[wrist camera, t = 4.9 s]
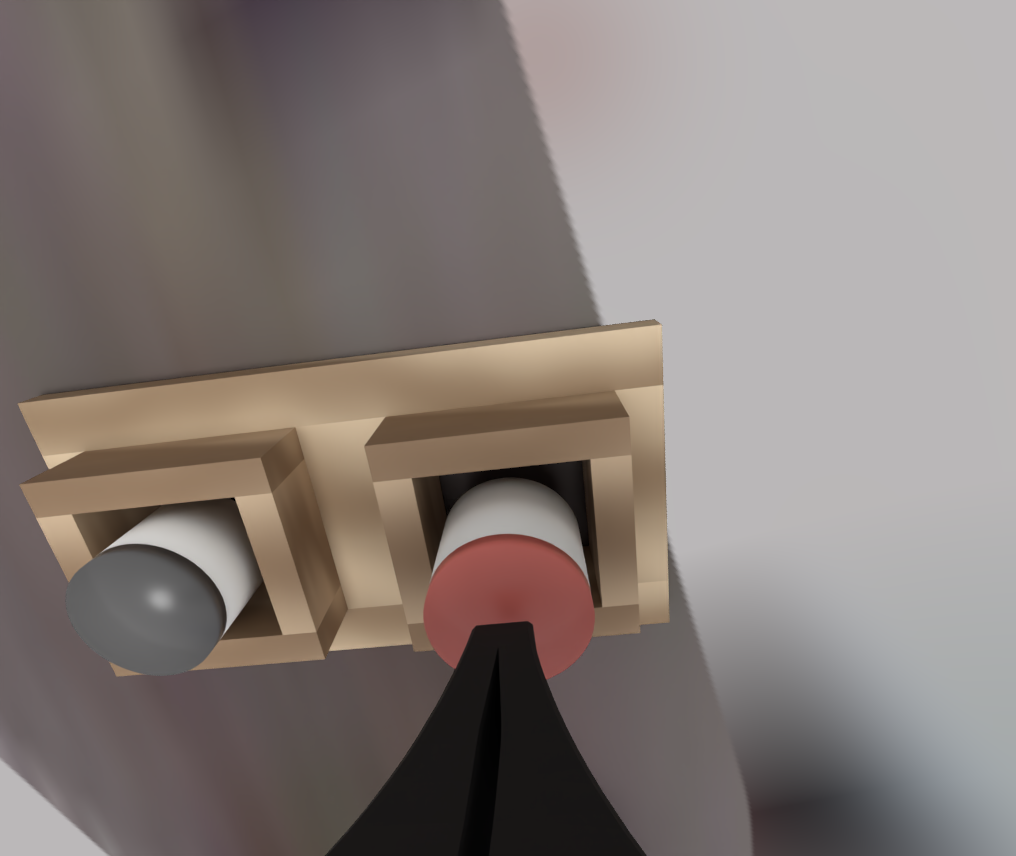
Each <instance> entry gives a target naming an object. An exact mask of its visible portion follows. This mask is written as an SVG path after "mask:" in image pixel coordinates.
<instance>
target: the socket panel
mask: <svg viewBox="0 0 1016 856" xmlns="http://www.w3.org/2000/svg"><path fill="white" fill-rule="evenodd" d="M18 406H19V408H20V410H21V412H22V414H23V416H24V418H25V420H26V422H27V424H28V427H29V429H30V431H31V433H32V435H33V437H34V439H35V441H36V443H37V445H38V447H39V449H40V452H41V454H42V456H43V458H44V460H45V462H46V464H47V466H48V468H49V470H47V471H45V472H43V473H41V474H39V475H37V476H35V477H33V478H31V479H29V480H27V481H25V482H23V483H21V484H20V487H21V489H22V491H23V493H24V495H25V497H26V499H27V501H28V503H29V505H30V507H31V509H32V511H33V513H34V515H35V516H36V518H37V520H38V522H39V524H40V526H41V528H42V530H43V532H44V534H45V536H46V538H47V540H48V542H49V544H50V546H51V548H52V550H53V552H54V554H55V556H56V558H57V560H58V562H59V564H60V566H61V568H62V570H63V572H64V574H65V576H66V578H67V580H68V582H70V580H71V578H72V577H73V576H74V574H75V573H76V572H77V571H78V570H79V569H80V568H81V567H83V566H84V565H85V564H87V563H88V562H89V561H90V560H92V559H93V558H94V557H96V556H97V555H98V554H100V553H101V552H102V551H103V550H105V549H106V548H107V547H109V546H110V545H111V544H113V543H114V542H115V541H116V540H118V539H119V538H120V537H122V536H123V535H124V534H126V533H127V532H128V531H129V530H131V529H132V528H133V527H135V526H136V525H137V524H139V523H140V522H141V521H142V520H144V519H145V518H146V517H148V516H149V515H150V514H152V513H153V512H154V511H155V510H157V509H158V508H159V507H161V506H162V505H165V504H174V503H184V502H193V501H203V500H212V499H221V498H231V497H235V500H236V503H237V506H238V508H239V511H240V514H241V517H242V520H243V523H244V526H245V528H246V531H247V534H248V537H249V540H250V543H251V546H252V548H253V551H254V554H255V557H256V560H257V563H258V566H259V568H260V571H261V574H262V577H263V580H264V581H263V582H262V583H261V585H260V586H259V587H258V589H257V590H256V592H255V593H254V594H253V596H252V597H251V598H250V600H249V601H248V602H247V604H246V605H245V607H244V608H243V609H242V611H241V612H240V613H239V615H238V616H237V617H236V619H235V620H234V621H233V623H232V624H231V626H230V627H229V628H228V630H227V631H226V632H225V634H224V635H223V636H222V638H221V639H220V641H219V642H218V643H217V645H216V646H215V647H214V649H213V650H212V651H211V653H210V654H209V655H208V657H207V658H206V659H205V660H204V661H203V662H202V663H200V664H199V665H198V666H196V667H194V668H193V669H191V670H201V669H213V668H225V667H237V666H249V665H261V664H273V663H285V662H297V661H309V660H321V659H325V658H326V656H327V654H328V652H329V651H335V650H347V649H358V648H370V647H382V646H394V645H406V644H412V645H413V649H414V652H417V651H429V650H435V649H434V648H433V646H432V645H431V643H430V641H429V639H428V637H427V634H426V631H425V627H424V620H423V609H424V604H425V599H426V595H427V591H428V587H429V583H430V580H431V576H432V572H433V568H434V564H435V560H436V557H437V553H438V549H439V545H440V541H441V537H442V534H443V530H444V526H445V522H446V519H447V516H446V510H445V505H444V500H443V495H442V490H441V485H440V479H439V475H447V474H457V473H466V472H475V471H485V470H494V469H504V468H513V467H522V466H532V465H541V464H551V463H560V462H569V461H579V460H582V467H583V478H584V490H585V501H586V513H587V524H588V536H589V546H583V553H584V558H585V563H586V568H587V574H588V579H589V584H590V589H591V595H592V600H593V605H594V611H595V624H594V631H593V634H592V637H597V636H609V635H621V634H633V633H640V625H643V624H655V623H667V622H669V587H668V549H667V513H666V512H667V510H666V471H665V434H664V394H663V357H662V325H661V324H660V323H659V322H657V321H656V320H655V319H654V320H645V321H638V322H629V323H621V324H613V325H605V326H596V327H588V328H580V329H572V330H564V331H556V332H548V333H540V334H532V335H524V336H515V337H507V338H499V339H491V340H483V341H475V342H467V343H459V344H451V345H443V346H435V347H426V348H418V349H410V350H402V351H394V352H386V353H378V354H370V355H362V356H354V357H345V358H337V359H329V360H321V361H313V362H305V363H297V364H289V365H281V366H273V367H264V368H256V369H248V370H240V371H232V372H224V373H216V374H208V375H200V376H192V377H183V378H175V379H167V380H159V381H151V382H143V383H135V384H127V385H119V386H111V387H103V388H94V389H86V390H78V391H70V392H62V393H54V394H46V395H41V396H38V397H35V398H32V399H29V400H26V401H23V402H20V403H18ZM110 664H111V666H112V668H113V670H114V672H115V674H116V676H128V675H140V674H141V673H137V672H133V671H130V670H127V669H124V668H122V667H119V666H117V665H115V664H113V663H111V662H110Z"/></svg>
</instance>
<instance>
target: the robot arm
mask: <svg viewBox="0 0 1016 856" xmlns="http://www.w3.org/2000/svg"><path fill="white" fill-rule="evenodd" d="M325 856H647V855H646V854H645V853H644V851H643V850H642V849H641V847H640V846H639V844H638V843H637V842H636V840H635V839H634V838H633V836H632V835H631V834H630V832H629V831H628V829H627V828H626V826H625V825H624V823H623V822H622V820H621V819H620V817H619V816H618V814H617V813H616V811H615V810H614V808H613V807H612V805H611V804H610V802H609V801H608V799H607V798H606V796H605V795H604V793H603V792H602V790H601V788H600V787H599V785H598V783H597V782H596V780H595V778H594V777H593V775H592V773H591V772H590V770H589V768H588V766H587V765H586V763H585V761H584V759H583V757H582V756H581V754H580V752H579V750H578V748H577V747H576V745H575V743H574V741H573V739H572V737H571V735H570V733H569V731H568V729H567V727H566V725H565V723H564V721H563V718H562V716H561V714H560V712H559V710H558V708H557V705H556V703H555V701H554V698H553V696H552V693H551V691H550V688H549V686H548V683H547V681H546V678H545V675H544V673H543V670H542V667H541V664H540V660H539V657H538V653H537V649H536V642H535V635H534V628H533V624H531V623H530V622H529V621H521V622H510V623H498V624H487V625H476V626H475V627H474V628H473V629H472V631H471V634H470V637H469V639H468V642H467V644H466V647H465V649H464V651H463V653H462V656H461V658H460V660H459V662H458V664H457V666H456V668H455V671H454V673H453V675H452V677H451V678H450V680H449V682H448V684H447V686H446V688H445V690H444V692H443V694H442V696H441V698H440V699H439V701H438V703H437V705H436V707H435V708H434V710H433V712H432V713H431V715H430V717H429V718H428V720H427V722H426V724H425V725H424V727H423V729H422V730H421V732H420V734H419V735H418V737H417V738H416V740H415V742H414V743H413V745H412V746H411V748H410V749H409V751H408V752H407V754H406V755H405V757H404V758H403V760H402V761H401V762H400V764H399V765H398V767H397V768H396V770H395V771H394V772H393V774H392V775H391V777H390V778H389V779H388V781H387V782H386V783H385V785H384V786H383V787H382V789H381V790H380V791H379V792H378V794H377V795H376V796H375V798H374V799H373V800H372V801H371V803H370V804H369V805H368V807H367V808H366V809H365V810H364V812H363V813H362V814H361V815H360V817H359V818H358V819H357V820H356V821H355V823H354V824H353V825H352V826H351V827H350V828H349V829H348V831H347V832H346V833H345V834H344V835H343V836H342V837H341V838H340V840H339V841H338V842H337V843H336V844H335V845H334V846H333V847H332V848H331V850H330V851H329V852H328V853H327V854H326V855H325Z"/></svg>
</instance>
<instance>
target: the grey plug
mask: <svg viewBox="0 0 1016 856" xmlns="http://www.w3.org/2000/svg"><path fill="white" fill-rule="evenodd" d="M263 581H264V580H263V577H262V574H261V571H260V568H259V566H258V563H257V560H256V557H255V554H254V551H253V548H252V546H251V543H250V540H249V537H248V534H247V531H246V528H245V526H244V523H243V520H242V517H241V514H240V511H239V508H238V506H237V503H236V502H235V501H233V500H231V499H229V498H221V499H212V500H203V501H193V502H184V503H174V504H165V505H162V506H161V507H159V508H158V509H157V510H155V511H154V512H153V513H152V514H150V515H149V516H148V517H146V518H145V519H144V520H142V521H141V522H140V523H139V524H137V525H136V526H135V527H133V528H132V529H131V530H129V531H128V532H127V533H126V534H124V535H123V536H122V537H120V538H119V539H118V540H116V541H115V542H114V543H113V544H111V545H110V546H109V547H107V548H106V549H105V550H103V551H102V552H101V553H100V554H98V555H97V556H96V557H94V558H93V559H92V560H90V561H89V562H88V563H87V564H85V565H84V566H83V567H81V568H80V569H79V570H78V571H77V572H76V573H75V574H74V576H73V577H72V578H71V580H70V582H69V584H68V587H67V591H66V601H65V602H66V609H67V613H68V617H69V619H70V621H71V624H72V626H73V627H74V629H75V631H76V632H77V634H78V635H79V636H80V637H81V639H82V640H83V641H84V642H85V643H86V644H87V645H88V646H89V647H90V648H91V649H92V650H93V651H95V652H96V653H97V654H99V655H100V656H101V657H103V658H104V659H106V660H108V661H109V662H111V663H113V664H115V665H117V666H119V667H122V668H124V669H127V670H130V671H133V672H137V673H141V674H147V675H157V676H164V675H174V674H179V673H183V672H186V671H188V670H191V669H193V668H194V667H196V666H198V665H199V664H200V663H202V662H203V661H204V660H205V659H206V658H207V657H208V655H209V654H210V653H211V651H212V650H213V649H214V647H215V646H216V645H217V643H218V642H219V641H220V639H221V638H222V636H223V635H224V634H225V632H226V631H227V630H228V628H229V627H230V626H231V624H232V623H233V621H234V620H235V619H236V617H237V616H238V615H239V613H240V612H241V611H242V609H243V608H244V607H245V605H246V604H247V602H248V601H249V600H250V598H251V597H252V596H253V594H254V593H255V592H256V590H257V589H258V587H259V586H260V585H261V583H262V582H263Z"/></svg>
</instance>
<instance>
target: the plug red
mask: <svg viewBox="0 0 1016 856" xmlns="http://www.w3.org/2000/svg"><path fill="white" fill-rule="evenodd" d="M423 620H424V627H425V631H426V634H427V637H428V639H429V641H430V643H431V645H432V646H433V648H434V649H435V651H436V652H437V654H438V655H439V656H440V657H441V658H442V659H443V660H444V661H445V662H446V663H447V664H449V665H450V666H451V667H452V668H454V669H455V668H456V666H457V664H458V662H459V660H460V658H461V656H462V653H463V651H464V649H465V647H466V644H467V642H468V639H469V637H470V634H471V631H472V629H473V628H474V627H475V626H476V625H487V624H498V623H510V622H521V621H529V622H530V623H531V624H533V628H534V635H535V642H536V649H537V653H538V657H539V660H540V664H541V667H542V670H543V673H544V675H545V678H546V679H549V678H551V677H553V676H555V675H557V674H559V673H561V672H562V671H564V670H566V669H567V668H568V667H570V666H571V665H572V664H573V663H575V661H576V660H577V659H578V658H579V657H580V656H581V655H582V653H583V652H584V651H585V649H586V648H587V646H588V644H589V642H590V640H591V637H592V634H593V631H594V624H595V611H594V605H593V600H592V595H591V589H590V584H589V579H588V574H587V568H586V563H585V558H584V553H583V547H582V542H581V537H580V531H579V526H578V522H577V519H576V517H575V515H574V513H573V511H572V509H571V508H570V506H569V505H568V503H567V502H566V501H565V500H564V499H563V498H562V497H561V496H560V495H559V494H558V493H556V492H555V491H554V490H552V489H550V488H549V487H547V486H545V485H543V484H541V483H538V482H535V481H532V480H528V479H523V478H499V479H493V480H490V481H486V482H484V483H481V484H479V485H477V486H475V487H473V488H472V489H470V490H468V491H467V492H466V493H465V494H463V495H462V496H461V497H460V498H459V499H458V500H457V501H456V503H455V504H454V505H453V507H452V508H451V510H450V512H449V514H448V516H447V519H446V522H445V526H444V530H443V534H442V537H441V541H440V545H439V549H438V553H437V557H436V560H435V564H434V568H433V572H432V576H431V580H430V583H429V587H428V591H427V595H426V599H425V604H424V609H423Z"/></svg>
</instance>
